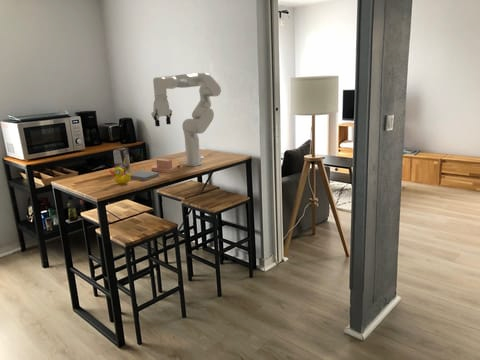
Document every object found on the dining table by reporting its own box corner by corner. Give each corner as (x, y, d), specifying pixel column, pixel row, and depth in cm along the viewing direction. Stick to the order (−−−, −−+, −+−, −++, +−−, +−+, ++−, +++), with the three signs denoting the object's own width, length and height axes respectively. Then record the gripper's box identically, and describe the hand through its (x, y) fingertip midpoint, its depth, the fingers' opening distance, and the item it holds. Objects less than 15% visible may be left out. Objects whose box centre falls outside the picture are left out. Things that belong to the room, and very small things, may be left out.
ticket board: (141, 173, 255) (141, 170, 255) (159, 176, 247) (159, 172, 246) (127, 177, 246) (126, 174, 245) (145, 180, 237) (144, 177, 237)
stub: (160, 167, 269) (159, 157, 267) (177, 170, 260) (177, 159, 258) (151, 170, 263) (151, 159, 261) (169, 172, 254) (168, 162, 252)
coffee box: (124, 174, 253) (121, 150, 249) (115, 174, 254) (112, 150, 250) (131, 171, 262) (128, 147, 257) (122, 171, 263) (119, 147, 259)
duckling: (110, 185, 230) (108, 168, 227) (112, 183, 235) (110, 166, 232) (130, 184, 231) (128, 167, 228) (131, 181, 236) (130, 165, 233)
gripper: (166, 96, 254) (168, 123, 258) (146, 98, 240) (148, 126, 245) (174, 96, 250) (176, 123, 254) (154, 98, 236) (157, 127, 241)
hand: (163, 125), depth 249 cm, fingers open, 9 cm apart
